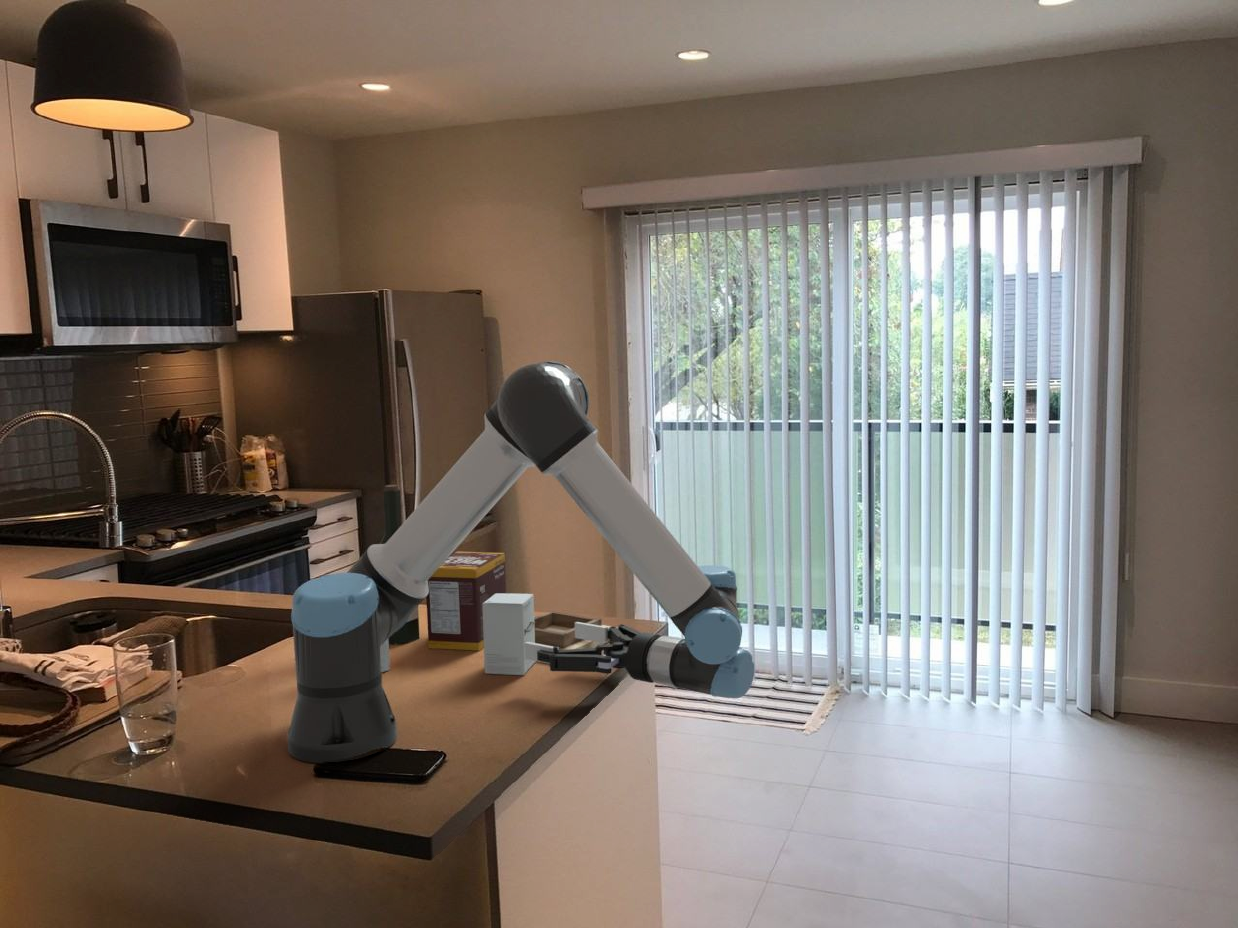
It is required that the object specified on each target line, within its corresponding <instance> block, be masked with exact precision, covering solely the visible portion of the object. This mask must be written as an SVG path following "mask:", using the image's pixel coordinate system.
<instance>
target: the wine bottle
mask: <svg viewBox="0 0 1238 928" xmlns="http://www.w3.org/2000/svg"><path fill="white" fill-rule="evenodd" d="M382 492H383V493H382V496H383V514H384V535H383V536H382V538H381V540H380V542H379V544H385V543H386V542H387V541H388V540H389V539H390V538H391V537H392V536H393V534H394V533H395V532H396V531H397V530H398V529H399V528H400V526H401V525H402V524H403V523H402V520H403V519H402V505H401V504H402V501H401V500H402V499H401V489H400V488H398V484H387V485H385V486H384V489H382ZM419 616H420V615H419V606H418V607H417V608H416V609H415V610H414V611H413V612H412V614H411V615H410V616H409V619H408V620H407V622H406V623H405V624H404V625H403V626H402V627H401V628H400V629H399V630H398V631H397V632H394V633H393V634H392V635H391V636H390V637H389V638H388V642H389V646H392V645H401V644H410V643H412V642H415V641H417V640H420V619H419V618H420V617H419Z"/></svg>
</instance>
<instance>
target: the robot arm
mask: <svg viewBox="0 0 1238 928" xmlns="http://www.w3.org/2000/svg"><path fill="white" fill-rule="evenodd" d="M588 393H589V392H588V389H587V387H586V384H585V382H584V381H583V379H581V377H580V376H579V375H578V374H577V373H576V371H574V370H573V369H571V368H570V367H569V366H567V365H566V364H563V363H561V362H557V361H543V362H542V361H541V362H537V363H531V364H528V365H524V366H522V367H520V368H519V367H518V369H516V370H514V371H513V372H512V373H511V374H509V376H508V377H506V379H505V380H504V382H503V384H502V385H501V387H500V390H499V393H498V396H497V400H496V401H495V402H494V404H492V405H491V407H490V408H489V409H488V410H487V411H486V413H485V414H484V416H483V417H484V419H483V420H484V430H483V432H482V433H480V435H479V436H478V437H477V438H476V439H475V441H474V442H473V443H472V444H471V445H470V446H469V448H468V449H466V451H465V452H464V453H463V454H462V455H461V457H459V459H458V460H457V461H456V462H455V464H453V466H452V467H451V468H450V469H449V470H448V471H447V473H446V474H445V475H444V476H443V477H442V479H441V480H440V481H439V482H437V484H436V485H435V486H434V487H433V489H432V490H431V491H430V492H429V493H428V494H427V496H426V497H425V498H424V499H423V500H422V501H421V502H420V503H419V504H418V505H417V507H416V508H415V509H414V510H413V511H412V512H411V514H410V515H409V516H408V517H407V519H406V520H405V521H404V522H403V523H402V525H401V526H400V528H399V529H398V530H397V531H396V532H395V533H394V534H393V536H392V537H391V538H390V539H389V540H388V541H387V542H386V543H385V544H380V543H377V544H371V545H370V546H368V548H367V549H365V551H364V553H363V554H362V555H361V556H360V557H359V558H358V559H357V560H356V562H355V563H354V564H353V565H352V566H351V567H350V569H348V570H347V572H338V573H331V574H330V573H329V574H326V575H321V576H320V578H312V579H309V580H308V581H306V582H304V583H302V584H301V585H300V586H298V588H297V589H296V590H295V592H294V593H293V595H292V598H291V599H292V600H291V601H292V602H291V605H292V606H291V608H292V609H291V614H290V619H291V620H290V621H291V623H292V634H293V648H294V649H293V650H294V659H295V660H294V661H295V662H294V663H295V676H296V692H297V693H296V701H295V703H294V704H295V705H294V708H293V712H292V717H291V720H290V721H291V722H290V726H289V728H288V730H287V734H286V742H287V751H288V754H289V755H290V756H292V757H293V758H294V759H296V760H299V761H302V762H307V763H313V764H314V763H315V764H324V763H323V762H325V761H327V760H338V759H347V758H351V757H354V756H358V755H361V754H365V753H367V752H369V751H371V750H375V749H380V748H387V749H389V748H390V747H392V745H394V744H395V742H396V741H397V739H398V728H397V726H398V725H397V720H396V717H395V715H394V713H393V709H392V706H391V705H390V702H389V699H388V697H387V695H386V692H385V689H384V687H383V679H382V677H383V676H382V672H381V656H380V646H381V645H382V644H383V643H384V642H385V641H386V640H387V639H388V638H389V637H390V636H391V635H392V634H393V633H394V632H397V631H398V630H399V629H400V628H401V627H402V626H403V625H404V624H405V623H406V622H407V620H408V619H409V616H410V615H411V614H412V612H413V611H414V610H415V609H416V608H417V607H418V608H419V606H420V604H421V603H422V602H423V601H424V600H426V599H425V598H426V596H427V595H428V593H429V586H428V579H429V578H430V577H431V576H432V575H433V574H434V573H435V571H436V570H437V569H438V568H439V567H440V566H441V565H442V564H443V562H444V561H445V560H446V559H447V558H448V557H449V556H450V555H452V554H453V553H454V551H455V550H456V549H457V548H458V547H459V546H460V545H461V543H462V542H463V541H465V539H466V538H467V537H468V535H470V533H471V532H472V531H473V530H474V529H475V527H477V525H478V524H479V523H480V522H481V521H482V519H484V518H485V516H486V515H487V514H488V513H489V512H490V511H491V509H493V508H494V506H495V505H496V504H497V503H498V502H499V500H500V499H502V497H503V496H504V495H505V494H506V493H507V492H508V491H509V490H510V488H511V487H512V486H513V485H515V482H516V481H518V479H519V478H520V477H521V476H522V475H523V474H524V472H525V471H526V470H527V469H528V468H530V467H536V468H537V469H538V470H539V471H540V473H542V475H544V476H551V477H554V478H555V479H556V480H557V481H558V483H559V484H560V486H561V487H562V488H563V489H564V490H565V491H566V493H567V494H568V495H569V496H570V498H572V500H573V501H574V503H575V504H576V505H577V506H578V507H579V509H581V511H582V513H584V515H585V516H586V517H587V518H588V520H589V521H590V522H591V524H593V526H594V527H595V528H596V529H597V531H598V532H599V533H600V534H601V536H603V538H604V539H605V541H607V543H608V544H609V545H610V547H612V548H611V549H613V550H614V551H615V553H616V554H617V555H618V556H619V557H620V559H621V560H622V561H623V562H624V563H625V564H626V566H627V567H628V569H630V571H631V572H632V574H633V575H634V576H635V577H636V578H637V580H639V582H640V583H641V584H642V585H643V587H644V588H645V589H646V590H647V591H648V593H649V594H650V595H651V597H652V598H653V599H654V600H655V602H657V604H658V605H659V607H661V609H662V610H663V611H664V612H665V614H666V615H667V616H668V617H669V619H670V620H671V622H672V623H673V624H674V626H675V627H676V628H677V629H678V630H679V632H680V633H681V634H682V635H683V636H684V637H683V638H681V637H675V636H669V635H660V634H655V633H651V632H650V633H649V632H641V631H638V630H637V629H634V628H632V627H630V626H628V625H626V624H623V623H621V624H618V628H616V627H617V626H612V627H609V628H608V627H605V626H599V625H593V624H587V623H581V622H576V623H575V638H578V639H584V640H589V641H595V642H600V643H605V644H603V645H597V647H596V648H589V649H570V650H559V648H558V647H557V646H548V645H542V644H537V643H532V642H525V659H528V660H533V661H535V662H538V663H539V662H540V663H544V664H548V665H549V671H550V672H571V673H572V672H579V673H580V672H582V673H599V674H600V673H601V674H606V675H608V674H612V668H614V669H625V670H626V671H627V674H629V677H631V678H632V679H633V680H635V681H640V682H646V683H649V684H650V683H652V684H653V683H654V684H657V685H661V686H665V687H666V686H667V687H671V689H672V690H674V691H675V690H677V689H684V690H686V691H687V690H688V691H692V692H696V693H701V694H705V695H710V696H712V697H714V698H715V697H716V698H717V697H718V698H726V699H740V698H742V697H744V696H745V695H746V694H747V693H748V692H749V691H750V689H751V686H752V684H753V682H754V681H753V680H754V677H755V661H754V660H753V655H752V653H751V652H750V651H748V650H747V649H744V648H742V647H741V642H742V636H743V626H742V625H741V621H740V617H739V611H738V610H739V609H738V604H737V599H738V598H737V596H738V594H737V593H738V592H737V591H738V587H737V577H736V574H737V573H736V572H735V570H734V569H732V568H730V567H728V566H725V565H716V564H715V565H713V564H712V565H710V564H709V565H697V564H696V563H695V561H694V560H693V559H692V557H690V555H689V553H688V552H686V550H685V549H684V547H683V546H682V545H681V544H680V543H679V541H678V540H677V539H676V538H675V537H674V535H673V534H672V533H671V531H670V530H669V528H667V526H665V524H664V522H662V520H661V519H660V518H659V517H658V515H657V514H656V513H655V512H654V510H653V509H652V508H651V506H649V504H648V503H647V502H646V500H645V499H644V498H643V497H642V496H641V494H640V493H639V492H638V490H637V489H636V488H635V487H634V486H633V484H632V483H631V481H630V480H629V479H628V478H627V477H626V476H625V474H624V472H622V471H621V470H620V468H619V467H618V465H616V463H615V462H614V460H612V459H611V456H609V455H608V453H607V452H606V451H605V450H604V448H603V447H602V446H601V444H599V442H598V435H599V434H598V433H599V430H598V429H597V428H596V426H595V425H594V424H593V423H592V422H591V420H590V419H589V417H588V416H587V415H588V413H589V409H590V407H589V405H590V404H589V403H590V400H589V399H590V398H589V394H588ZM608 639H610V642H608ZM607 643H609V644H607ZM602 651H603V653H602ZM388 747H389V748H388Z"/></svg>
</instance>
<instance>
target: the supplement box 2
mask: <svg viewBox="0 0 1238 928" xmlns="http://www.w3.org/2000/svg"><path fill="white" fill-rule="evenodd" d="M534 603H535V600H534V594H533V593H507V592H506V593H496V594H494V595H493V596H492V597H490V598H489V599H488V600H487V601H485V602H484V603H483V604H482V605H483V634H484V647H483V658H484V660H483V662H484V674H488V675H489V674H491V675H492V674H493V675H506V676H507V675H508V676H509V675H511V676H524V675H525V674H526V673H527V672H528V671H529V669H531V668H532V666H533V665H534V664H535V663H536V661H533V660H528V659H525V642H532V643H535V625H534V617H535V606H534V605H535V604H534Z"/></svg>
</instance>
